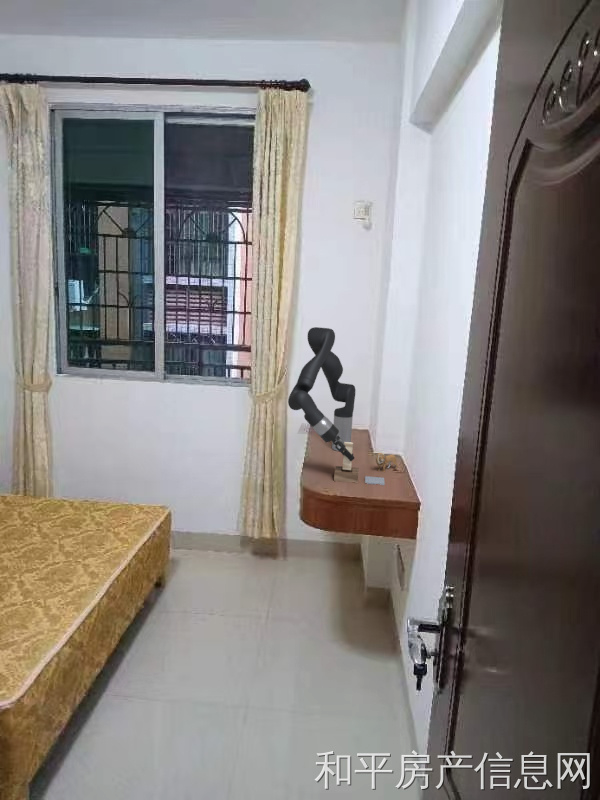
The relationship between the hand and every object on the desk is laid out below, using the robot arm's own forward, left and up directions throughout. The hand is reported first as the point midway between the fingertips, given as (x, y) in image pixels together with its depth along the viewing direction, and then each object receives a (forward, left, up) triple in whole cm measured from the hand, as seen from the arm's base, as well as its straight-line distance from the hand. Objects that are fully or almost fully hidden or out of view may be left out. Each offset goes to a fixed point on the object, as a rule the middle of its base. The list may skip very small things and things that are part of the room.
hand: (352, 457), depth 251 cm
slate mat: (+1, +10, -9) cm, 14 cm away
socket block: (0, -2, -9) cm, 9 cm away
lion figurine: (-15, +15, -9) cm, 24 cm away
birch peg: (0, -2, -5) cm, 5 cm away
